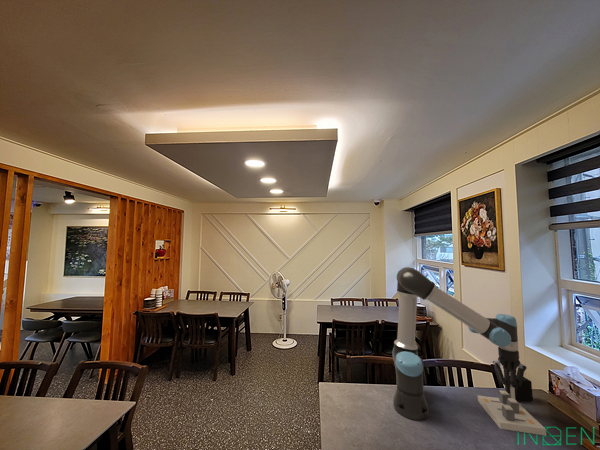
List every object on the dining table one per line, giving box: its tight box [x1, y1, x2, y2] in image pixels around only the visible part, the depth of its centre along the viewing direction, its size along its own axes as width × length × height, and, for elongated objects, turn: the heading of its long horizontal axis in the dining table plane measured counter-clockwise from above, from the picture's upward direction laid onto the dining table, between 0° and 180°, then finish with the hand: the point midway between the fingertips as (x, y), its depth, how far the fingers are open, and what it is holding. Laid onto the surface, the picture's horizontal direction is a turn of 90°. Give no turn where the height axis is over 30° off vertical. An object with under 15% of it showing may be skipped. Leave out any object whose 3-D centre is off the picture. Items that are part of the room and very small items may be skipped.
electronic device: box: [504, 376, 534, 403], centre depth 121 cm, size 4×10×10 cm, turn 89°
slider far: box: [498, 389, 510, 404], centre depth 113 cm, size 3×3×5 cm
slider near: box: [502, 405, 515, 421], centre depth 103 cm, size 3×3×5 cm
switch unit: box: [477, 395, 547, 437], centre depth 108 cm, size 16×19×3 cm
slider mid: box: [507, 398, 520, 414], centre depth 108 cm, size 3×3×5 cm
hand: (511, 400), depth 113 cm, fingers closed
